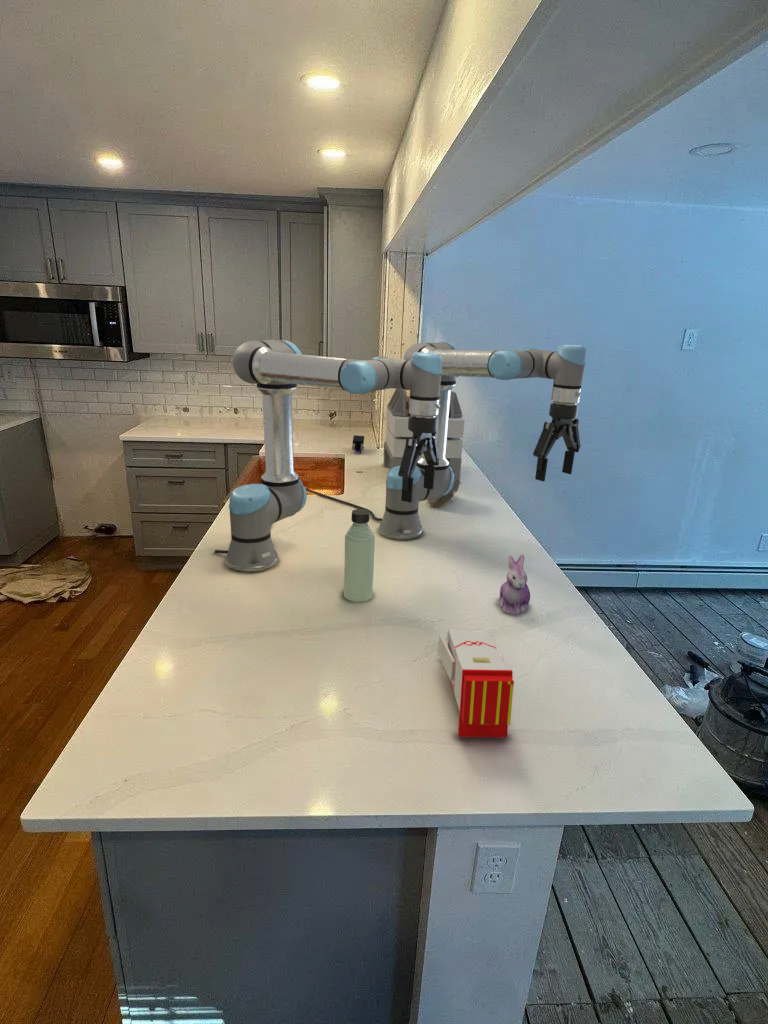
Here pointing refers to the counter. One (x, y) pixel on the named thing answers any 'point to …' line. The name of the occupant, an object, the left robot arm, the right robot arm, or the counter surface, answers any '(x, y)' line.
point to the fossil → (445, 496)
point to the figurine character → (358, 443)
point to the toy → (478, 682)
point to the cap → (360, 516)
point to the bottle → (359, 563)
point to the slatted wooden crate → (400, 432)
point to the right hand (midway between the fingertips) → (553, 476)
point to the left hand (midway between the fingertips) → (417, 494)
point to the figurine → (515, 588)
